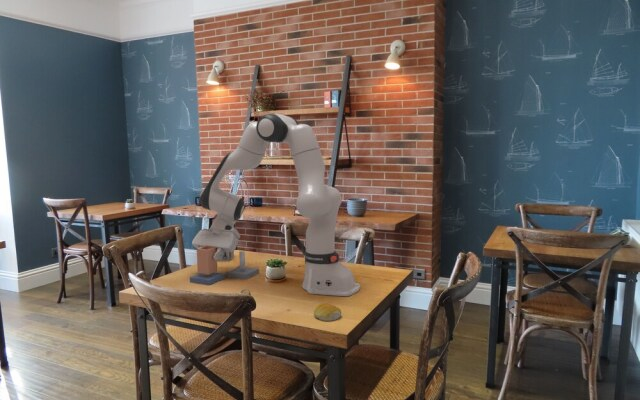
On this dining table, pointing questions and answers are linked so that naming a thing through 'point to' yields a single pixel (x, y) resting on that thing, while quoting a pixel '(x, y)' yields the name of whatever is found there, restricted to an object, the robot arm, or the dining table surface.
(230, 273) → the stand
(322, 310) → the bread roll
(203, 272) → the sleeve
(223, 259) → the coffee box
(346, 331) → the dining table surface
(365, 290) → the dining table surface
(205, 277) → the peg base
